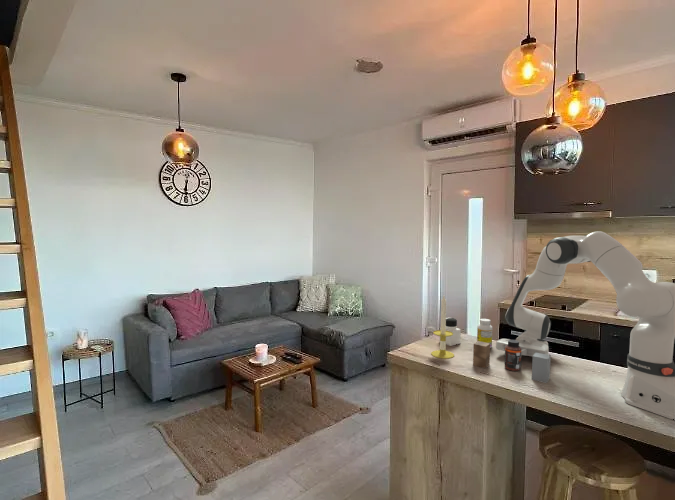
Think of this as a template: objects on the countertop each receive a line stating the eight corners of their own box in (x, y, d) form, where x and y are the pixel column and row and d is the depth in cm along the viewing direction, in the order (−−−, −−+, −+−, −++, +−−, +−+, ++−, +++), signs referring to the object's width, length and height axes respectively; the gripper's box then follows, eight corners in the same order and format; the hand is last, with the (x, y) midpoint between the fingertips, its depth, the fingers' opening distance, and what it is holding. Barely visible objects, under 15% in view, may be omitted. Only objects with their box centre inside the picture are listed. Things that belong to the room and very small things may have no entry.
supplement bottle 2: (522, 372, 151) (523, 343, 150) (506, 371, 152) (507, 342, 152) (518, 366, 157) (519, 339, 156) (503, 365, 158) (503, 338, 157)
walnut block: (489, 364, 159) (490, 343, 158) (485, 368, 155) (486, 346, 154) (477, 362, 162) (477, 341, 161) (472, 365, 158) (473, 343, 158)
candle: (458, 355, 170) (460, 294, 168) (446, 360, 164) (447, 297, 162) (439, 349, 178) (440, 291, 176) (426, 354, 171) (427, 294, 169)
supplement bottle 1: (477, 343, 186) (478, 317, 185) (492, 345, 183) (493, 318, 182) (476, 347, 180) (476, 320, 179) (491, 349, 177) (492, 322, 176)
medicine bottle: (460, 343, 186) (461, 319, 185) (450, 346, 182) (451, 321, 182) (449, 339, 192) (449, 316, 191) (439, 342, 188) (439, 318, 188)
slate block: (549, 378, 145) (550, 355, 144) (546, 383, 141) (547, 359, 140) (534, 375, 148) (535, 352, 147) (531, 379, 144) (532, 355, 144)
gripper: (501, 333, 176) (491, 340, 165) (552, 342, 163) (544, 350, 152) (500, 347, 176) (490, 355, 165) (551, 357, 163) (543, 366, 152)
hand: (517, 353), depth 159 cm, fingers closed
